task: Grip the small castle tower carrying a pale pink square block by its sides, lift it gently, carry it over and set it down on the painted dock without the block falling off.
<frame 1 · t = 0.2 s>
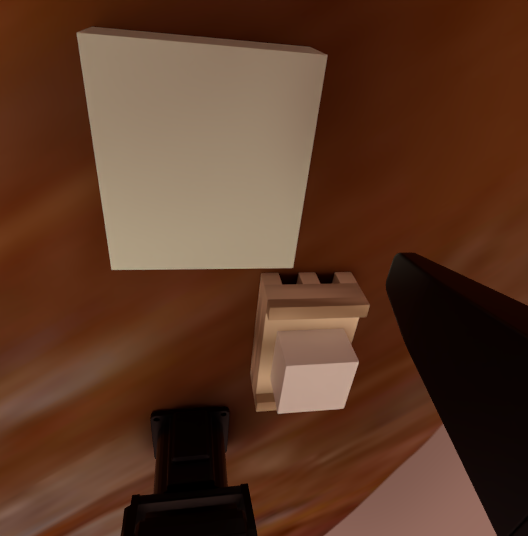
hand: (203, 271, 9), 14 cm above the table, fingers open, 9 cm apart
dock: (205, 153, 22), on the table
castle tower: (296, 324, 30), on the table, touching pale pink square block
pale pink square block: (305, 353, 28), point 3 cm above the table, touching castle tower
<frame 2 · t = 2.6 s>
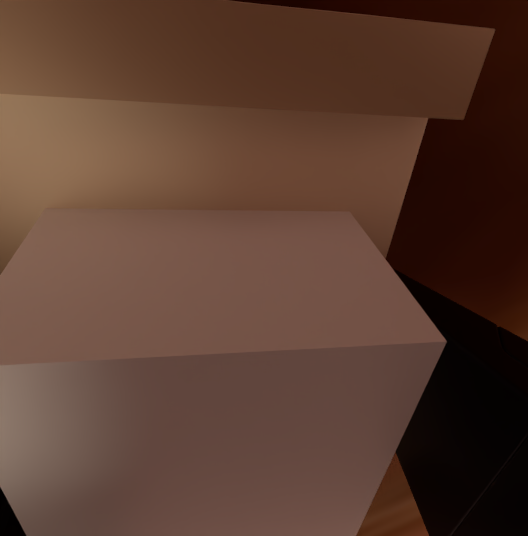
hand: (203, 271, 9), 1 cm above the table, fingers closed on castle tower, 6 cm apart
castle tower: (201, 241, 10), on the table, touching pale pink square block, gripper
pale pink square block: (206, 322, 7), point 3 cm above the table, touching castle tower
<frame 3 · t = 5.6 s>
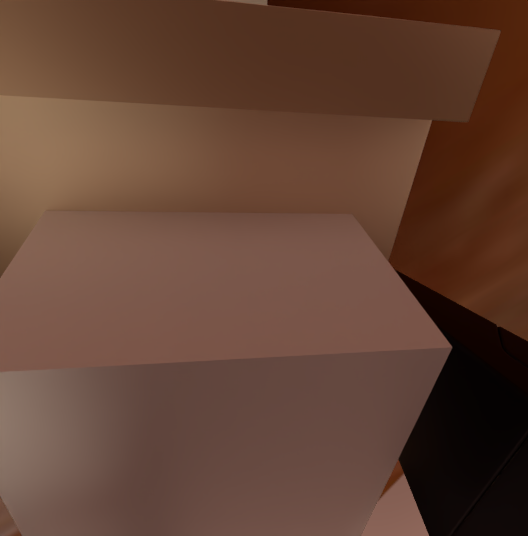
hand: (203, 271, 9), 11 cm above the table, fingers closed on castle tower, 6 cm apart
castle tower: (202, 243, 10), point 10 cm above the table, touching pale pink square block, gripper
pale pink square block: (207, 325, 7), point 13 cm above the table, touching castle tower
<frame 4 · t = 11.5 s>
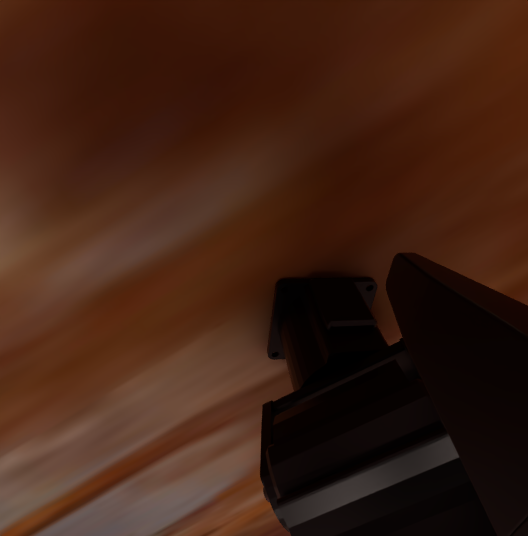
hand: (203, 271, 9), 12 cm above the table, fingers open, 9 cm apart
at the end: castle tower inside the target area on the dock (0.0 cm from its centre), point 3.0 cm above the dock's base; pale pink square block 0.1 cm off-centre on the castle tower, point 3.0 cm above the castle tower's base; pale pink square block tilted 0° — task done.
